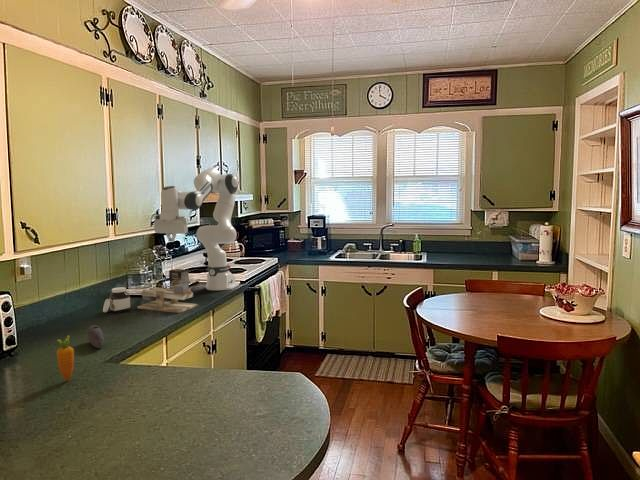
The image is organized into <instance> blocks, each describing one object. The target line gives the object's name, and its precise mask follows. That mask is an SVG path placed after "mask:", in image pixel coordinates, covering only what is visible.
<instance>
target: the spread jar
mask: <svg viewBox="0 0 640 480" xmlns="http://www.w3.org/2000/svg"><path fill="white" fill-rule="evenodd" d="M102 308H103V309H102V312H103V313H108V311H109V310H111V311H112V312H113V313H118V314H120V313H125V312H127V311H128V310H129V309H130V308H131V296H130V294H129V292H128V291H127V287H125V286H123V287H122V286H120V287H113V288H111V293H110V295H109V298H106V299H105V300H104V304H103V307H102ZM109 308H110V309H109Z"/></svg>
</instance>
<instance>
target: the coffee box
mask: <svg viewBox="0 0 640 480" xmlns="http://www.w3.org/2000/svg"><path fill="white" fill-rule="evenodd" d="M168 273H169V274H168V275H169V276H168V277H169V287H170V286H174V285H177V284H182V285H188V290H190V282H189V280H190V279H189V275H190V274H189V270H188V269H181V268H175V269H170V270H169V271H168Z"/></svg>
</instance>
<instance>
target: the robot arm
mask: <svg viewBox="0 0 640 480" xmlns="http://www.w3.org/2000/svg"><path fill="white" fill-rule="evenodd" d="M239 181H240V180H239V178H238V177H237V175H235V174H232V173H228V174H226V173H225V174H220V171H219V170H218V169H217V168H216V167H209V168H206V169H203V171H201V172H199V173H198V174H197V175H196V176H195V178H193V185H194V188H195V189H196V191H181V190H179V189H177V186H175V185H168V186H164V187H163V188H161V192H160V205H161V213H159V214H157V215H154V217H153V219H154V222H153V223H154V224H153V226H154V228H153V229H154V233H156V234H165V235H166V237H167V240H168V242H169V243H174V242H175V238H176V237H177V235H183V234H187V233H188V232H189V228H188V222H187V218H186V217H185V216H180V213H179V212H180V211H179V210H190V211H197V210H199V209H200V207H202V205H203V203H204V201H205V199H207V198H208V197H209V195H210V194H218V199H217V201H216V204H215V206H214V210H213V213H212V216H213V219H214V221H216V222H217V224H216V225H207V224H206V225H202V226H199V227H198V228H197V230H196V233H195V234H196V239H197V240H198V241H199V242H200V243H201V244H202V245H203V247H204V248H205V249H204V250H206V253H207V262H208V263H207V264H208V266H207V275H206V285H205V289H206V290H208V291H225V290H226V291H228V290H233V289H234V288H236V287H238V286H240V285H239V284H240V282H237V283H236V280H237V279H236V276H235V274H233V273H232V272H231V271H230V269H231V265H230V264H228V263H227V261H228V260H227V259H228V258H227V252H226V251H225V250H224V249H222V248H221V247H220V245H219V244H231V243H232V244H233V243H234V242H235V241H236V239H237V235H238V234H237V230H236V228H235V227H234V226H233V225H232V215H233V213H234V212H233V211H234V208H235V204H236V203H235V202H236V196H235V194H236V192H237V191H238V188H239V183H240V182H239Z"/></svg>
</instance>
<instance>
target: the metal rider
mask: <svg viewBox="0 0 640 480" xmlns="http://www.w3.org/2000/svg"><path fill="white" fill-rule="evenodd" d="M186 290H188V285H182V284H177V285H174V293H181V294H183V291H186Z"/></svg>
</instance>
